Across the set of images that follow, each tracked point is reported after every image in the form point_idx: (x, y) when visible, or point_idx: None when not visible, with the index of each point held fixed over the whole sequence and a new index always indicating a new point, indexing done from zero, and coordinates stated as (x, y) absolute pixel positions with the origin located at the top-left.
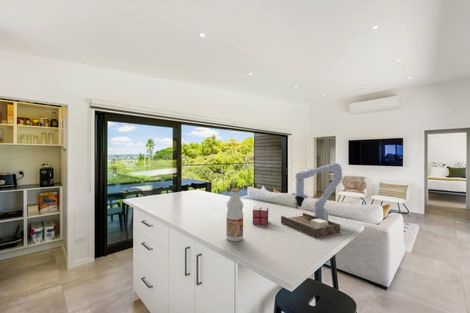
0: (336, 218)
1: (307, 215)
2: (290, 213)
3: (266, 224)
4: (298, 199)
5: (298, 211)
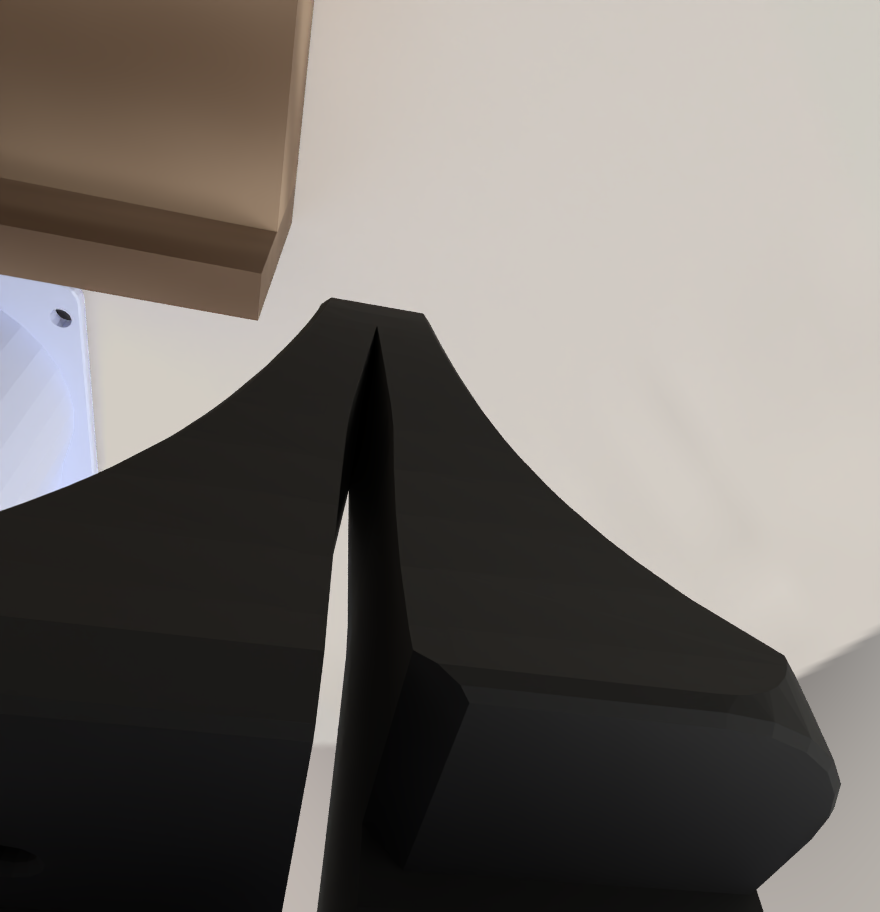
0: None
1: (5, 208)
2: (868, 429)
3: None
4: (189, 536)
5: None
